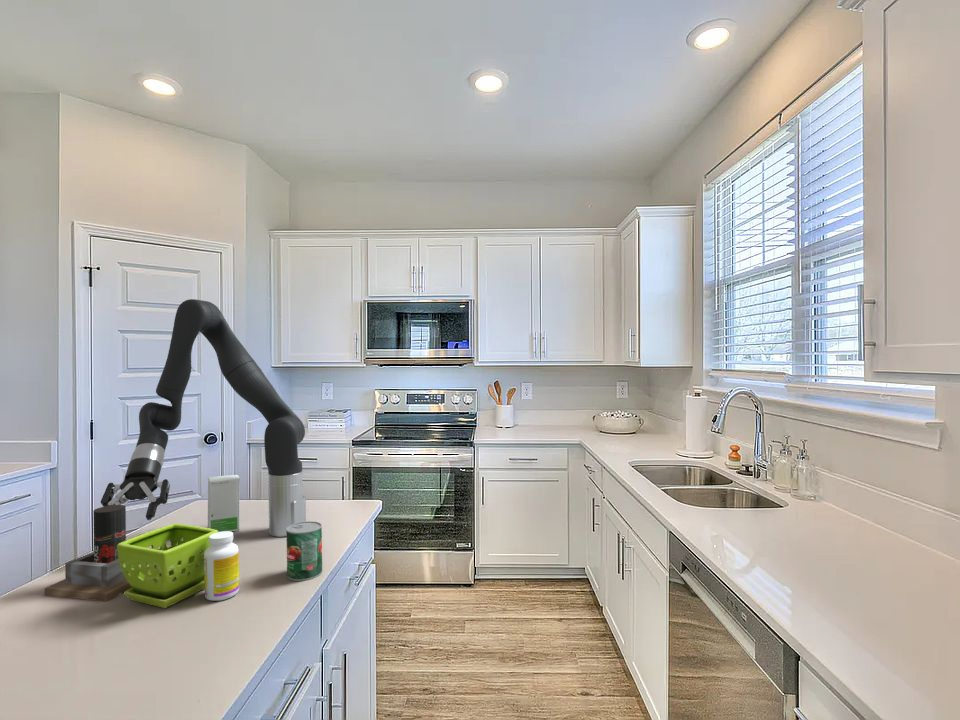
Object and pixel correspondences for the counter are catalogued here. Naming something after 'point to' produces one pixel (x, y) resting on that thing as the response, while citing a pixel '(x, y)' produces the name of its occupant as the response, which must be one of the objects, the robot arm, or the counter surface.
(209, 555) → the supplement bottle
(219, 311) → the robot arm
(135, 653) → the counter surface
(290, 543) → the canned tomato
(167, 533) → the flower pot
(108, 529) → the deodorant
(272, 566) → the counter surface
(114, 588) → the jig
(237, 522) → the skincare box
